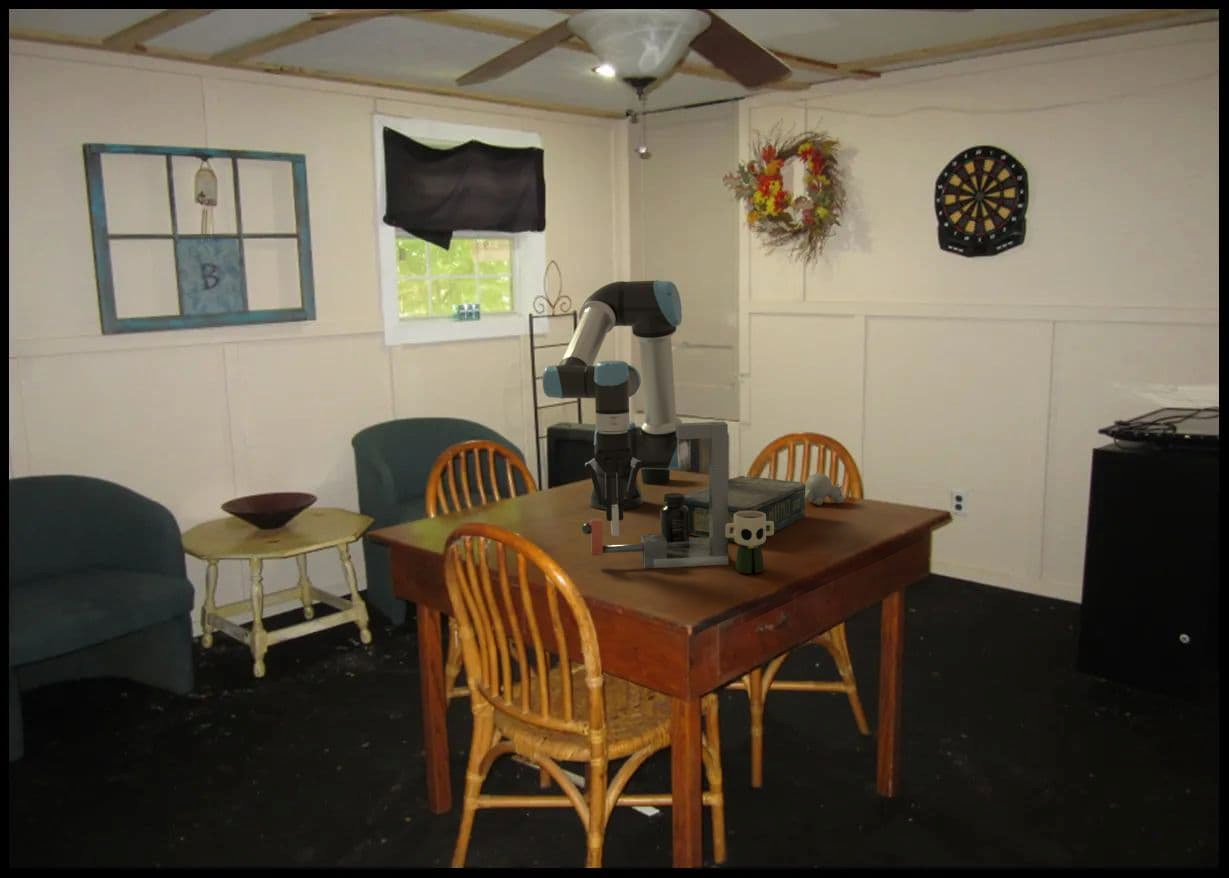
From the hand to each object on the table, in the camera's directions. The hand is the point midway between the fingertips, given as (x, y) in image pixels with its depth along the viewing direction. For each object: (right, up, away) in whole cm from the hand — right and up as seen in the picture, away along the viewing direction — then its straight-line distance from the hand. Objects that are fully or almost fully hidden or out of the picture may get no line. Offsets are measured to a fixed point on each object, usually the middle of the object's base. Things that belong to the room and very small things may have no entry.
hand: (615, 534), depth 224 cm
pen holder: (+13, +8, +88) cm, 89 cm away
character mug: (+30, -8, -5) cm, 31 cm away
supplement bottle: (+14, -4, +10) cm, 18 cm away
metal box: (+33, -1, +34) cm, 47 cm away
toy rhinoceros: (+59, +3, +55) cm, 80 cm away
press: (+16, -6, +8) cm, 19 cm away
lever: (+5, -4, +1) cm, 6 cm away
